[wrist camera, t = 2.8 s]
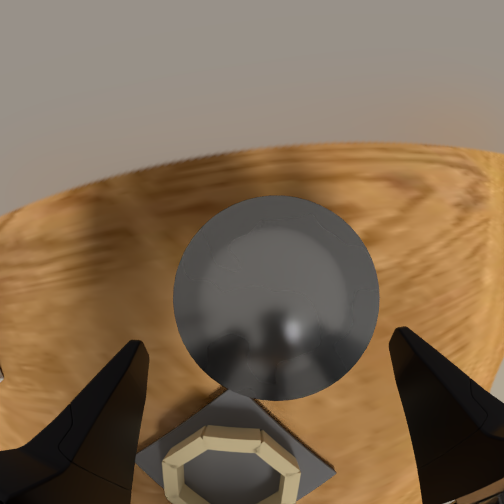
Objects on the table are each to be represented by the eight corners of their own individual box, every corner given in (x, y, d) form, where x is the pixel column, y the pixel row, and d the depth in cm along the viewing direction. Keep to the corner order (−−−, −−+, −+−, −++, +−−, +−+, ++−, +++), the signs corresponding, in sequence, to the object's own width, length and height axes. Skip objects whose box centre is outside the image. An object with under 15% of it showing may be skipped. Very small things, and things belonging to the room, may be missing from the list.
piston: (313, 313, 18) (412, 297, 6) (258, 363, 17) (271, 438, 5) (263, 259, 19) (283, 162, 7) (208, 308, 18) (134, 285, 6)
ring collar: (334, 470, 15) (344, 485, 12) (229, 531, 13) (228, 548, 10) (236, 382, 17) (233, 391, 14) (133, 455, 15) (120, 468, 12)
